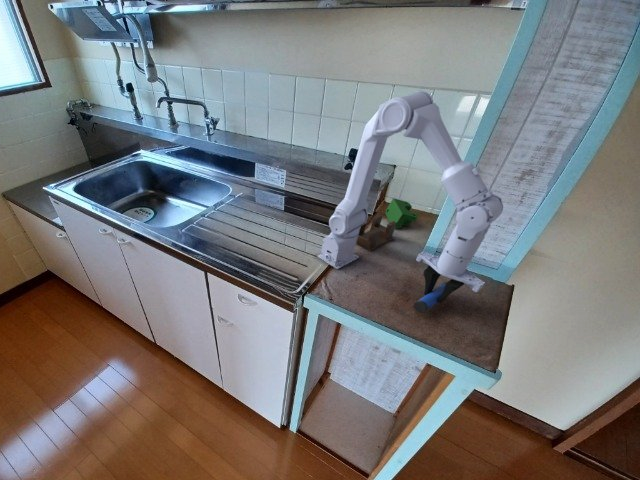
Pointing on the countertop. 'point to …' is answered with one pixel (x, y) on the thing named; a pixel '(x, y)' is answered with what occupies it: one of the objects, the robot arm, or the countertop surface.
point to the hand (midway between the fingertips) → (434, 297)
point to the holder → (375, 234)
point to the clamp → (400, 213)
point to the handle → (429, 299)
